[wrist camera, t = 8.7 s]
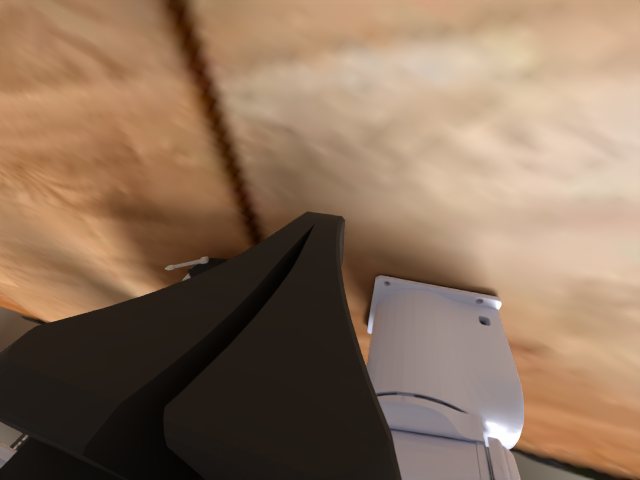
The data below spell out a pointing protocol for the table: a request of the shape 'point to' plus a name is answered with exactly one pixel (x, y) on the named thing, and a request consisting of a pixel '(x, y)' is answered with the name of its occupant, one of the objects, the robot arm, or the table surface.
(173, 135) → the table surface
